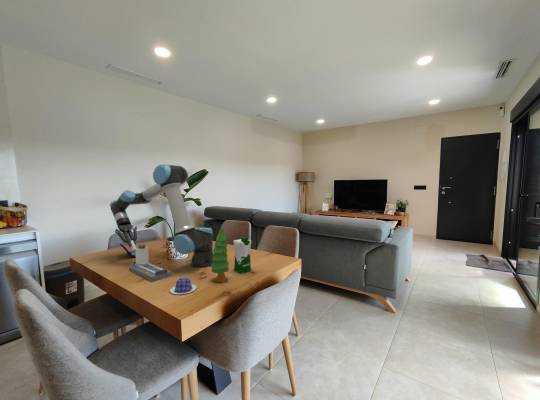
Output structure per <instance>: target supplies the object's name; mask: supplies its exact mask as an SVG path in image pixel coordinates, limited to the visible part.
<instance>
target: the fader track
mask: <svg viewBox="0 0 540 400" xmlns="http://www.w3.org/2000/svg"><path fill="white" fill-rule="evenodd" d="M132 263H133V264H132V265H129V266H128V271H130V272H132V273H134V274H136V275H138V276H139V277H141V278H144V279H146V280H147V281H150V282H151V283H154V282H158V281H159V280H163V279H166V278H170V277H172V276H173V271H171V270H169V269H168V268H164V267H162V266H159V265H157V264H154V263H152V262H150V261H149V262H148V263H147V265H146V266H141V265H137V264H136V260H135V261H133V262H132Z"/></svg>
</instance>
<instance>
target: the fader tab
mask: <svg viewBox="0 0 540 400" xmlns="http://www.w3.org/2000/svg"><path fill="white" fill-rule="evenodd" d="M149 257H150V255H149V247H148V246H146V244H138V248H137V247H136V258H135V261H136V264H137V265H141V266H146V265H147V263H148V262H150V261H149Z"/></svg>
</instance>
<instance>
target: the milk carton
mask: <svg viewBox="0 0 540 400" xmlns="http://www.w3.org/2000/svg"><path fill="white" fill-rule="evenodd" d="M233 246H234V266H233V268H234V269H233V271H235V272H237V273H239V274H245V273H248V272H251V271H252V265H251V246H252V240H251V239H249V236H243V237H242V236H241V237H240V239H234V240H233Z"/></svg>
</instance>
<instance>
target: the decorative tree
mask: <svg viewBox="0 0 540 400" xmlns="http://www.w3.org/2000/svg"><path fill="white" fill-rule="evenodd" d="M215 240H216V241H215V242H214V248H213V253H214V255H213V257H212V259H213V262H212V265H211V266H210V268H211V272H212V273H213V274H217V275H216V278H215V282H216V283H217V282H218V283H224V282H225V281H226V280H227V277H226V275H225V274H226V273H228V272H229V270H230V268H229V265H230V262H229V260H228V248H227V246H228V242H227V240H228V238H227V236H226V232H225V230H224V224H223V223H222V224H221V226H220V229H219V231H218V234H217V236H216V238H215Z"/></svg>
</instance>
